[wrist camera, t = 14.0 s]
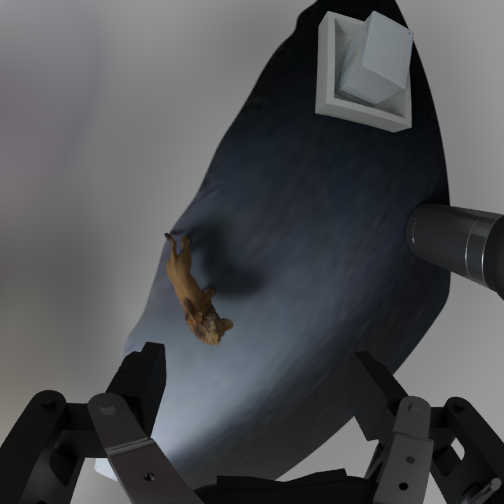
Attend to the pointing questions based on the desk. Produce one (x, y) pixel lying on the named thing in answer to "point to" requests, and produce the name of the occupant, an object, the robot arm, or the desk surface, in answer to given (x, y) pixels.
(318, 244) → the desk surface
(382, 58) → the skincare box
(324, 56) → the tray
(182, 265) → the lion figurine
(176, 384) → the desk surface
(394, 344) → the desk surface
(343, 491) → the robot arm
